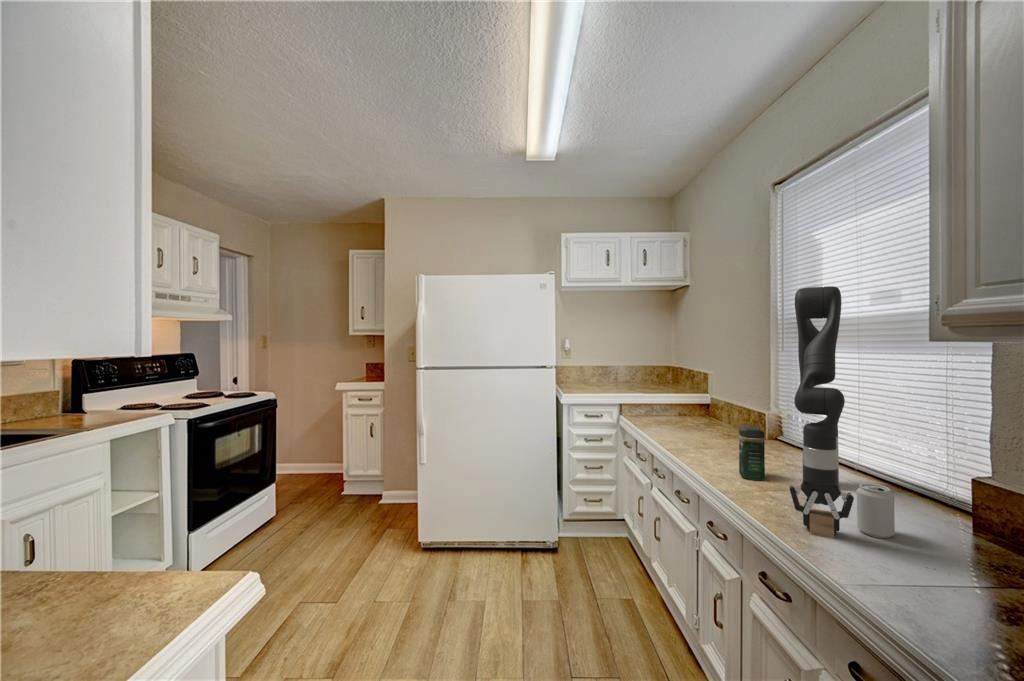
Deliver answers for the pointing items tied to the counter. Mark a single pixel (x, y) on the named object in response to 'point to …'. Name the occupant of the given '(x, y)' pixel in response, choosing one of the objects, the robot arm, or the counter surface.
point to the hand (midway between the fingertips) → (820, 529)
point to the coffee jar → (751, 452)
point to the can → (875, 510)
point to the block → (821, 523)
